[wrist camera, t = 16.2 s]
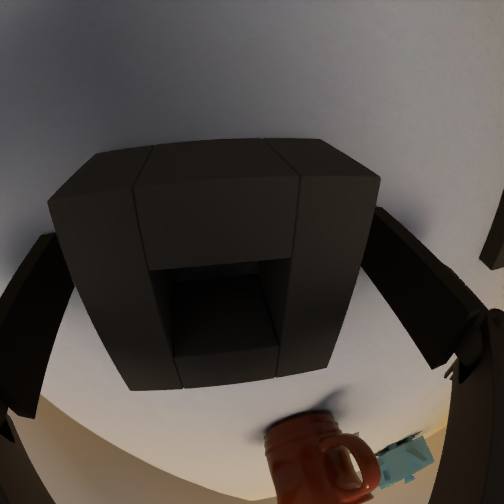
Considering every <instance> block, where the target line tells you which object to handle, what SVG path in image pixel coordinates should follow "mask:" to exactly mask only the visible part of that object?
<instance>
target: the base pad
mask: <svg viewBox="0 0 504 504" xmlns="http://www.w3.org/2000/svg"><path fill="white" fill-rule="evenodd" d="M479 259H480V260H481V261H482V262H483V263H484V264H485V265H486V266H487V267H488V268H489V269H490V270H495V269H499V268H502V267H504V193H503V196H502V199H501V203H500V206H499V209H498V212H497V215H496V218H495V220H494V223H493V226H492V229H491V231H490V234H489V236H488V239H487V241H486V244H485V246H484V249H483V251H482V253H481V256H480V258H479Z"/></svg>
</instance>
